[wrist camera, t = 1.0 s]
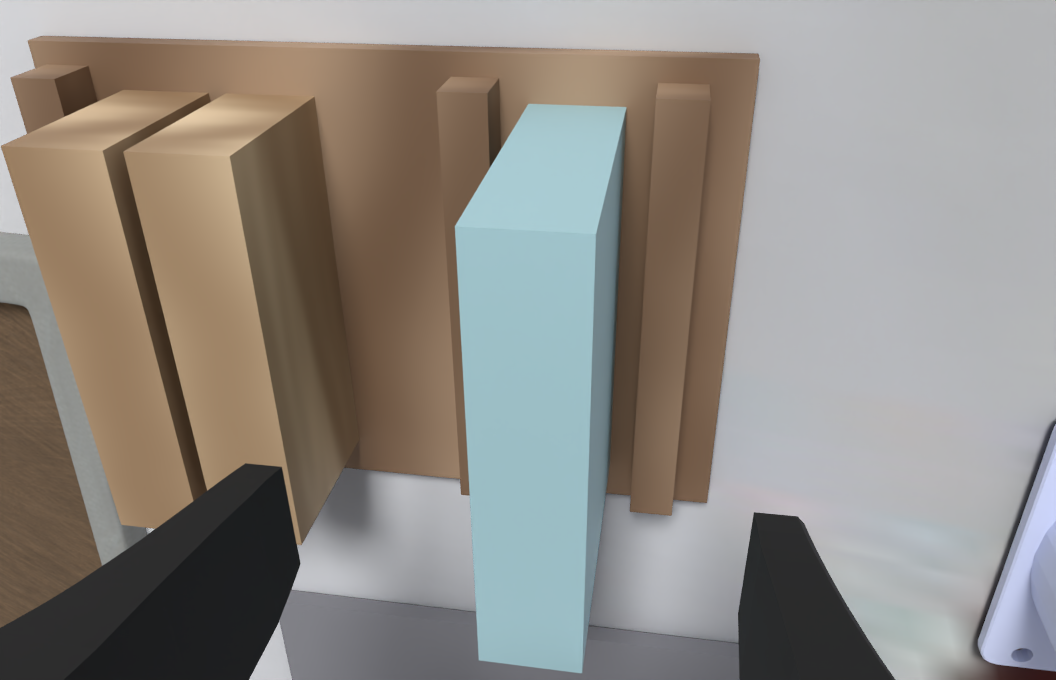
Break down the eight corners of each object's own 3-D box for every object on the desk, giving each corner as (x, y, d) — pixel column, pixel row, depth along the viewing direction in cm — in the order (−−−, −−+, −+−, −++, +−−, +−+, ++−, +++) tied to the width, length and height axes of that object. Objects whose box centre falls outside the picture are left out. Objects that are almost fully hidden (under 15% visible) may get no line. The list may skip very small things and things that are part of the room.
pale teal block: (626, 106, 18) (595, 233, 12) (609, 462, 22) (582, 673, 17) (528, 103, 18) (455, 226, 12) (531, 455, 22) (478, 660, 17)
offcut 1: (208, 92, 19) (102, 150, 16) (273, 431, 24) (201, 533, 20) (123, 90, 19) (0, 146, 16) (203, 424, 24) (121, 524, 20)
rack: (758, 53, 17) (764, 74, 16) (706, 490, 23) (707, 535, 21) (42, 36, 19) (-11, 52, 18) (153, 437, 25) (119, 475, 24)
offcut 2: (314, 96, 19) (229, 156, 15) (359, 439, 23) (301, 545, 20) (226, 93, 19) (122, 151, 16) (287, 432, 23) (218, 535, 20)
